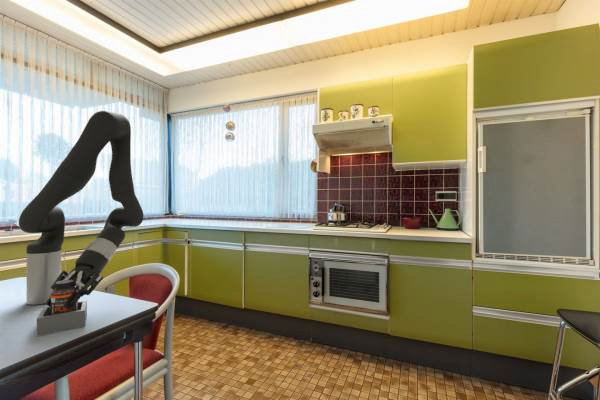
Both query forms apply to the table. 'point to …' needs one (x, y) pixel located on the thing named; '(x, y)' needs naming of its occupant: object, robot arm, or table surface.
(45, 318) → the open box
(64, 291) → the supplement bottle
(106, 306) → the table surface
